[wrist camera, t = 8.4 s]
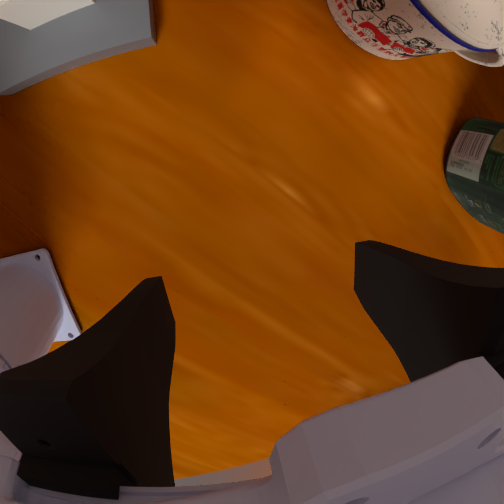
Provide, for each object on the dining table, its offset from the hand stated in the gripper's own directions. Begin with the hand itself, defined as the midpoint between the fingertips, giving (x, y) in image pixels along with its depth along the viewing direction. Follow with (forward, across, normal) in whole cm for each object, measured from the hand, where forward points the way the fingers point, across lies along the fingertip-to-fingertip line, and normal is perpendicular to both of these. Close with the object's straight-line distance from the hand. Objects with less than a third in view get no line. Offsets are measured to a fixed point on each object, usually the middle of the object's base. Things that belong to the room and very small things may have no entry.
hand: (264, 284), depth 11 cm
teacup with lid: (+10, -13, -13) cm, 21 cm away
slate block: (+10, +9, -17) cm, 22 cm away
